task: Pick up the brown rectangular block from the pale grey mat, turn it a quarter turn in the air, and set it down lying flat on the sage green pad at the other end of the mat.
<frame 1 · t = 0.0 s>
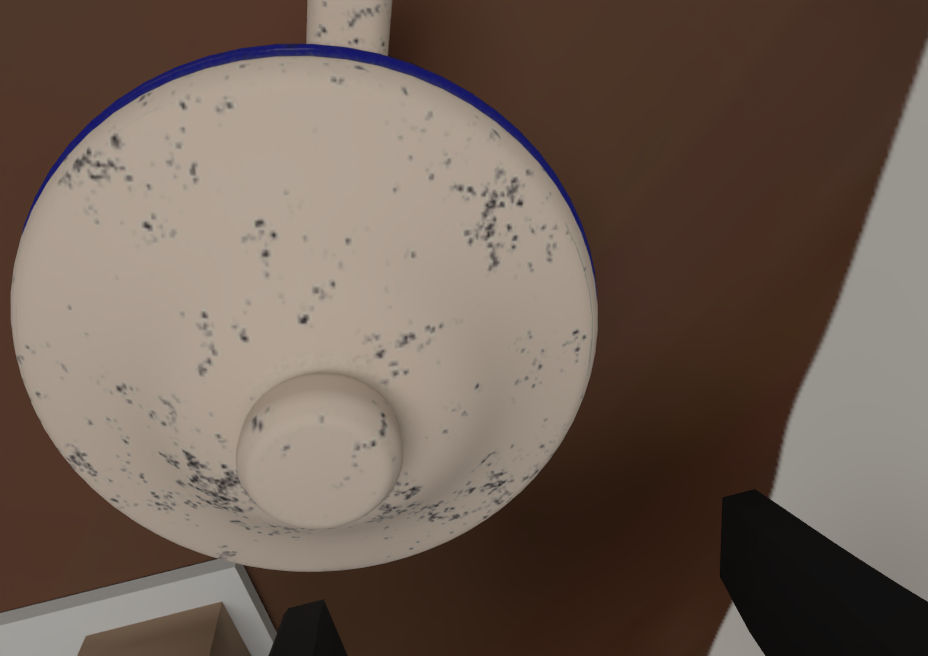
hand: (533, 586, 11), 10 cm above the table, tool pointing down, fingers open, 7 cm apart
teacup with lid: (344, 158, 17), on the table
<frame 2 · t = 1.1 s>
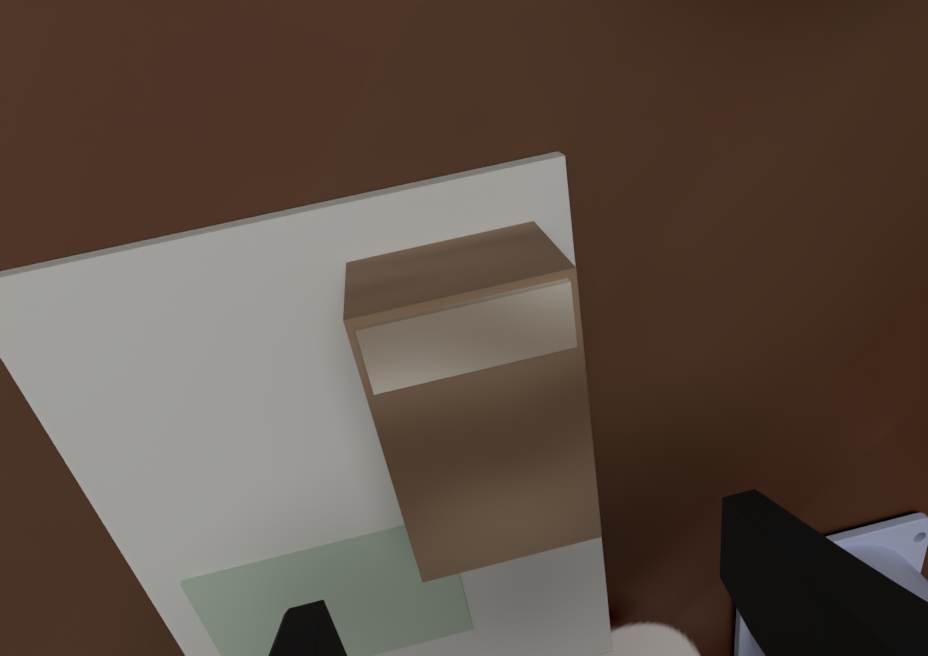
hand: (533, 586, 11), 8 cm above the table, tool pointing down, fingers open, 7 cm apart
grey mat: (369, 503, 20), on the table
brown rectangular block: (467, 370, 18), point 1 cm above the table, touching grey mat
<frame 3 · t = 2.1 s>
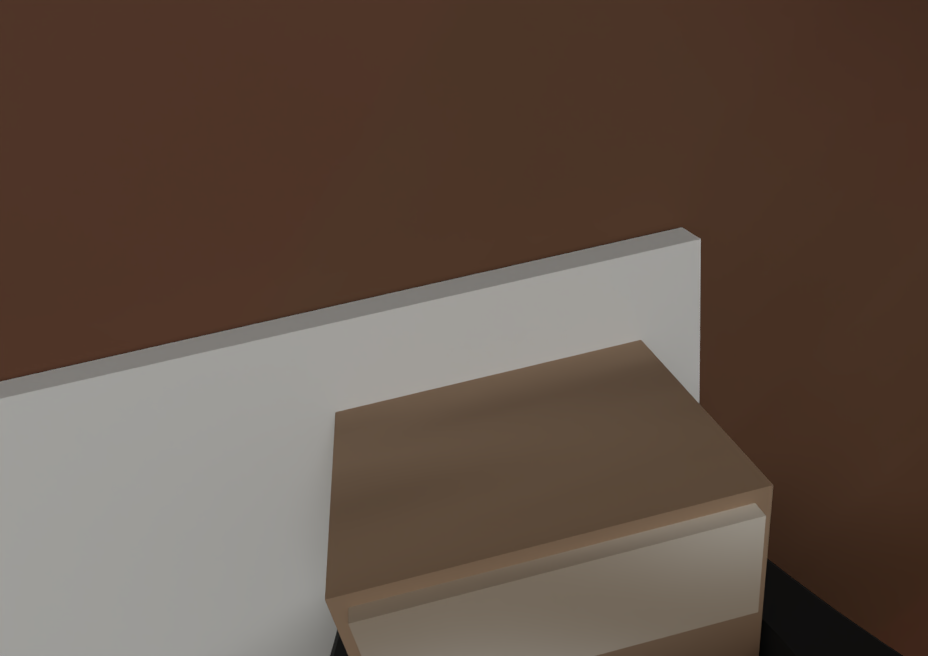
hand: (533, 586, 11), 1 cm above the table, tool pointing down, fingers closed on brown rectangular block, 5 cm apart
brown rectangular block: (522, 551, 11), point 1 cm above the table, touching grey mat, gripper
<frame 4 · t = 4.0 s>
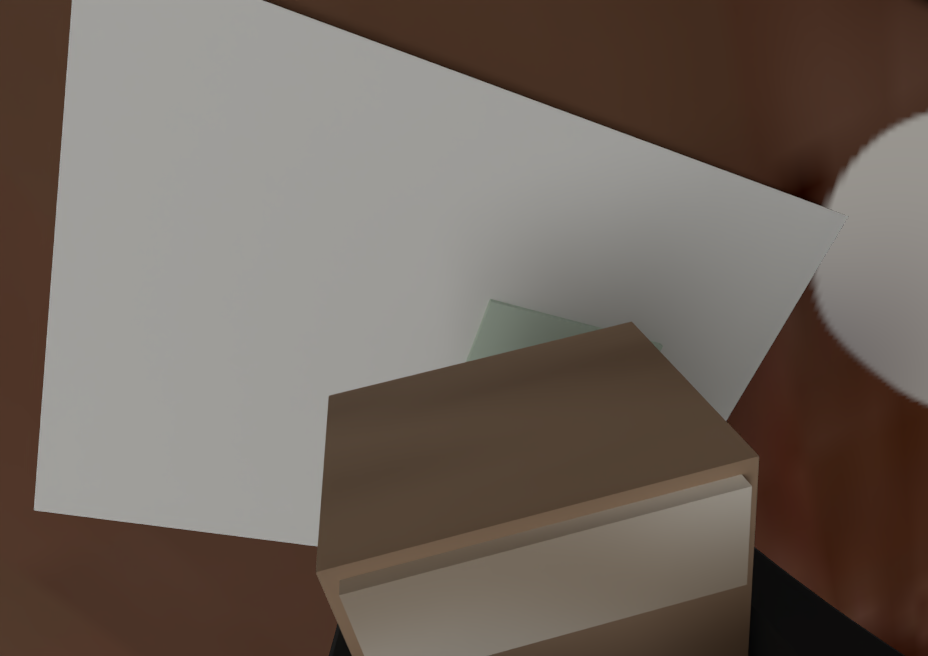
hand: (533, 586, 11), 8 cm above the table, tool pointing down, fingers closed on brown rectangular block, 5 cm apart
grey mat: (438, 353, 18), on the table
brown rectangular block: (517, 535, 12), point 7 cm above the table, touching gripper
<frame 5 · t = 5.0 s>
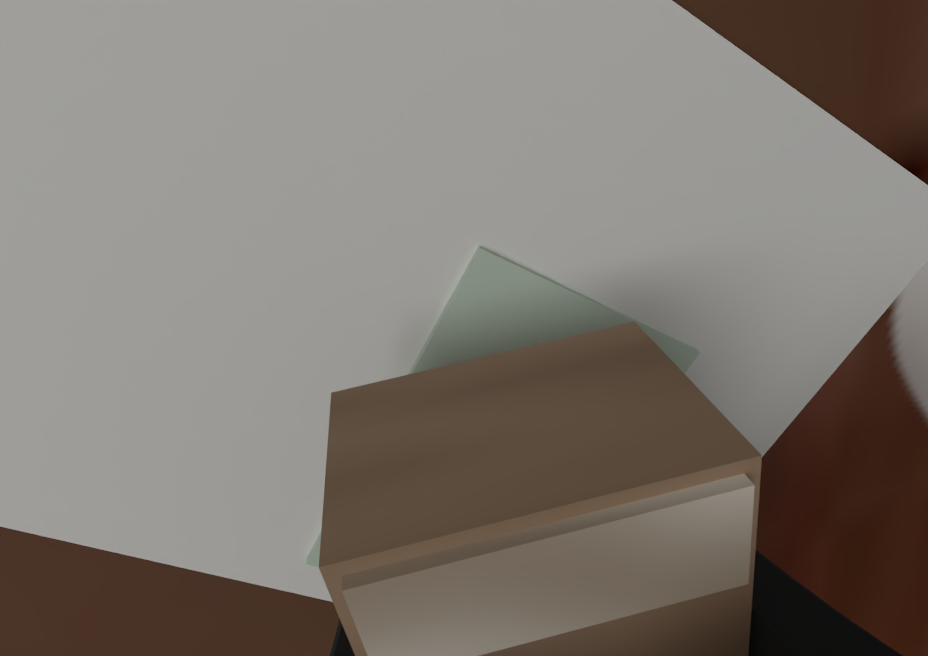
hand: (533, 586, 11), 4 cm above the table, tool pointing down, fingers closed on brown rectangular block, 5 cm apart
grey mat: (392, 317, 13), on the table
brown rectangular block: (518, 534, 12), point 3 cm above the table, touching gripper
when the fingers open (3 cm above the table, at t = 5.8 s): brown rectangular block drops 1 cm, resting on grey mat.
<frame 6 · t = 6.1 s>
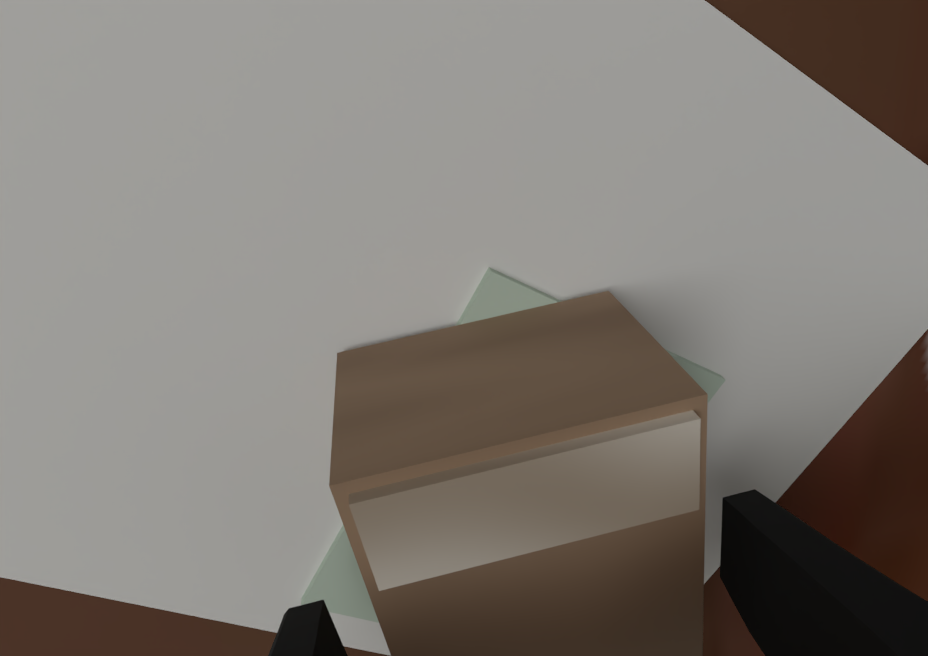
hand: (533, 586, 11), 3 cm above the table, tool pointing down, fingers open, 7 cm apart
grey mat: (394, 343, 12), on the table
brown rectangular block: (505, 488, 13), point 1 cm above the table, touching grey mat
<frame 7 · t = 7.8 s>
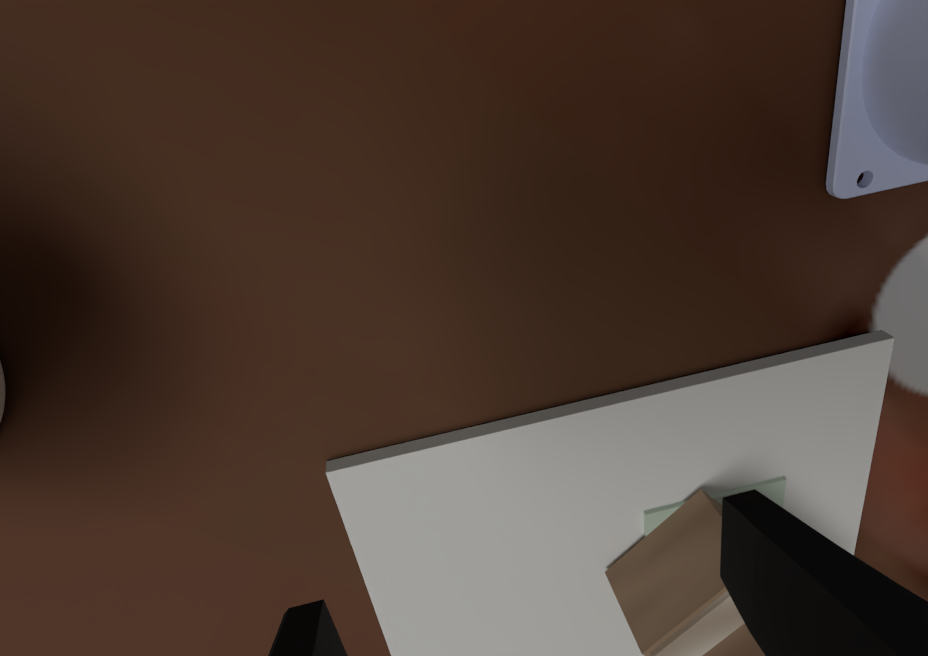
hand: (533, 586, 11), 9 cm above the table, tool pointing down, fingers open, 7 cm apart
grey mat: (622, 546, 24), on the table
brown rectangular block: (711, 572, 25), point 1 cm above the table, touching grey mat
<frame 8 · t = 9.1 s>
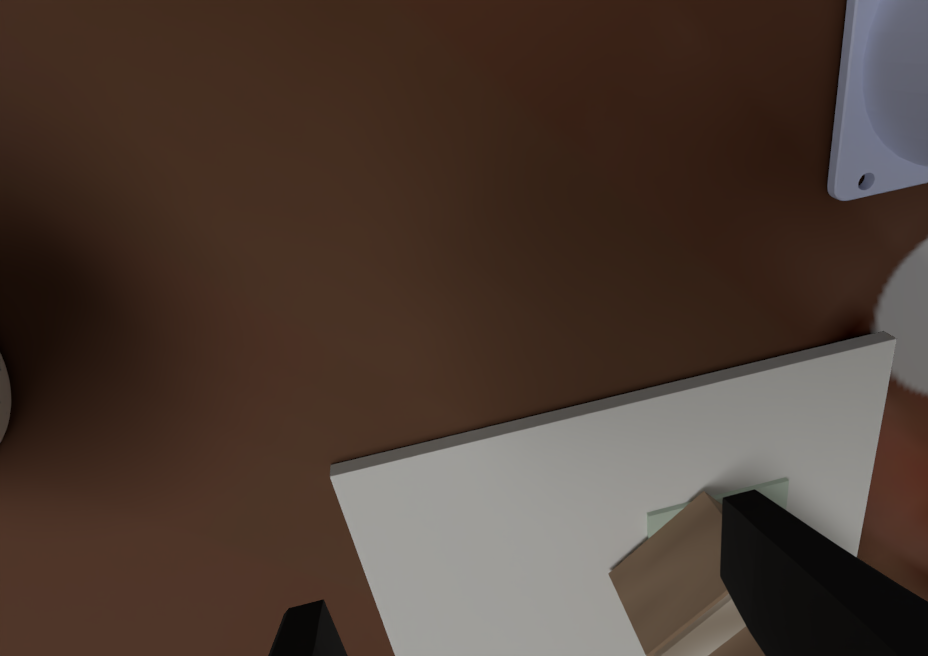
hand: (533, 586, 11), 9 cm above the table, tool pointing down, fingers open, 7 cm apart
grey mat: (625, 547, 24), on the table
brown rectangular block: (714, 573, 25), point 1 cm above the table, touching grey mat
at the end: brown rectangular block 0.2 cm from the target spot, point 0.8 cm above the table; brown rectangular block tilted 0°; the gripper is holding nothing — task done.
